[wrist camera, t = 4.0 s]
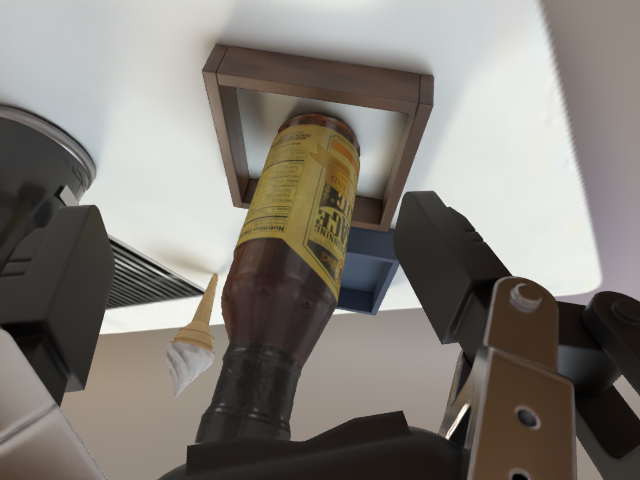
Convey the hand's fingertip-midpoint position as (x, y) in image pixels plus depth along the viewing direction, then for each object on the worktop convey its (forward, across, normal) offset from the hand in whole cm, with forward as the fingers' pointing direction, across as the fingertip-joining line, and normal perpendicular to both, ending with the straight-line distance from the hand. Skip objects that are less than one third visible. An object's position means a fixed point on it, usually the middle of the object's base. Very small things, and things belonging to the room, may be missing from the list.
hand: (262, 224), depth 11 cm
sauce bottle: (+17, -6, +6) cm, 19 cm away
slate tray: (+21, -9, +21) cm, 31 cm away
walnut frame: (+17, -5, +6) cm, 18 cm away
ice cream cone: (+29, +3, +30) cm, 42 cm away
